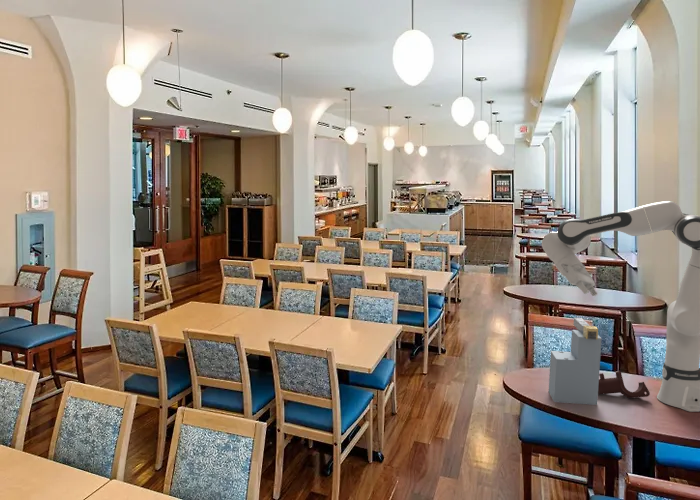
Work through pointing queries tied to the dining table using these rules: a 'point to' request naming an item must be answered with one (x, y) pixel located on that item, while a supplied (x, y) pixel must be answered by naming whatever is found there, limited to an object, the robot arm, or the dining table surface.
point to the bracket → (620, 387)
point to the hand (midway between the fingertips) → (591, 294)
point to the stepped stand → (576, 371)
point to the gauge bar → (586, 329)
